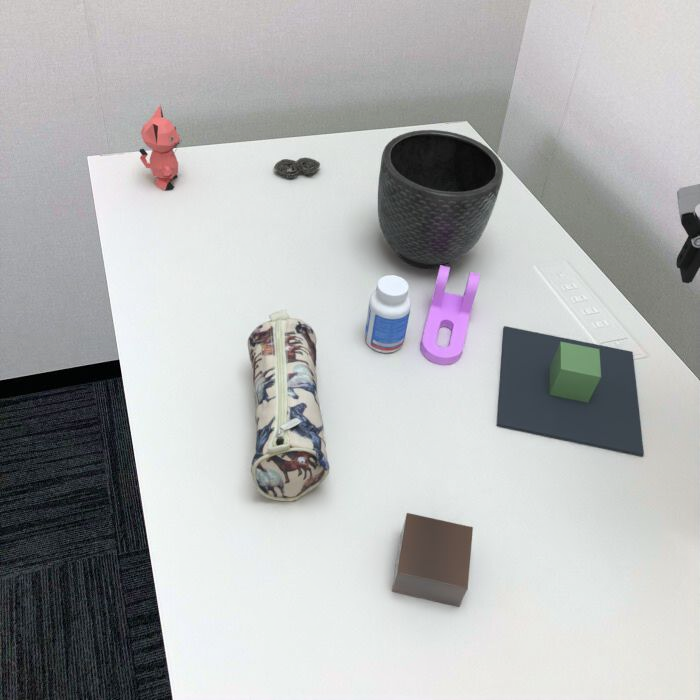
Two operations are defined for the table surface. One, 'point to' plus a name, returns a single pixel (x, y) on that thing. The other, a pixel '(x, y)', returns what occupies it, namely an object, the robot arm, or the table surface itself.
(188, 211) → the table surface
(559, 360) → the green cube
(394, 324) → the pill bottle
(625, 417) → the mat
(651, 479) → the table surface
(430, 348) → the bracket
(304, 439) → the pencil case
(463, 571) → the walnut base block
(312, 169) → the corroded twin loop
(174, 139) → the cat figurine
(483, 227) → the planter
